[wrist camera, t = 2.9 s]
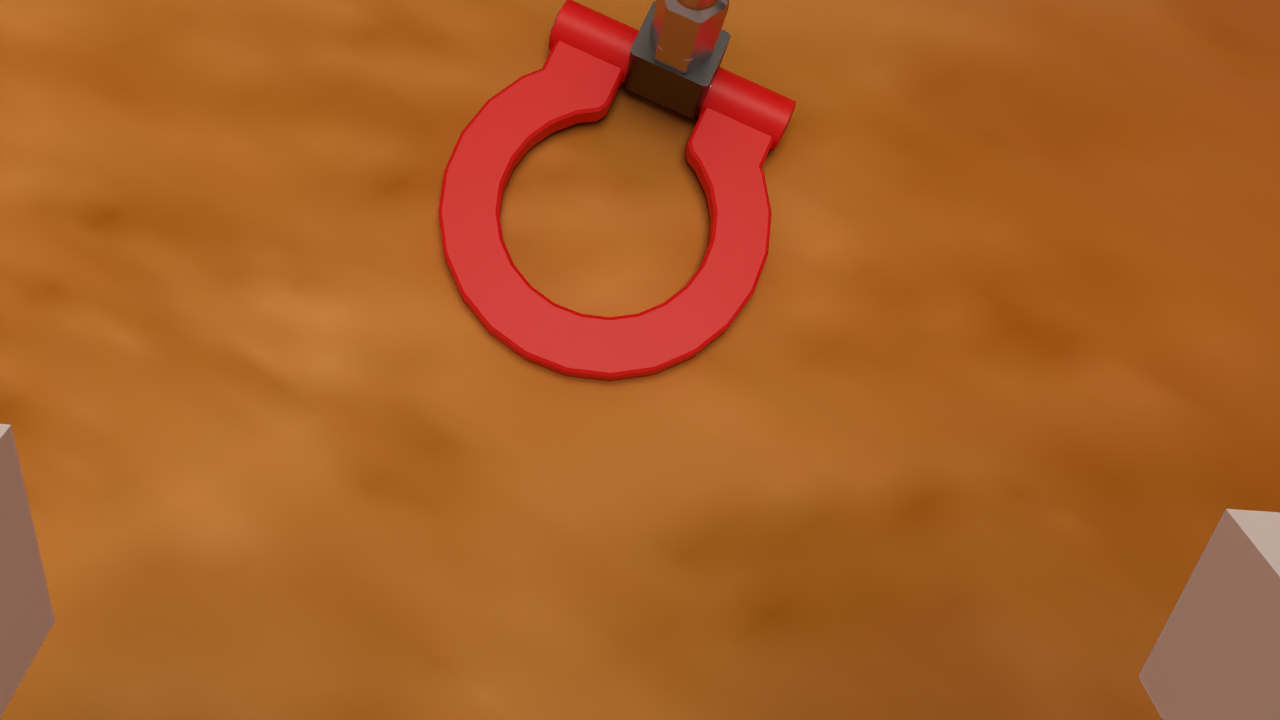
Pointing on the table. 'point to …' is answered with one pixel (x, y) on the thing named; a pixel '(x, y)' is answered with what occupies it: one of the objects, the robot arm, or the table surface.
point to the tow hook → (583, 92)
